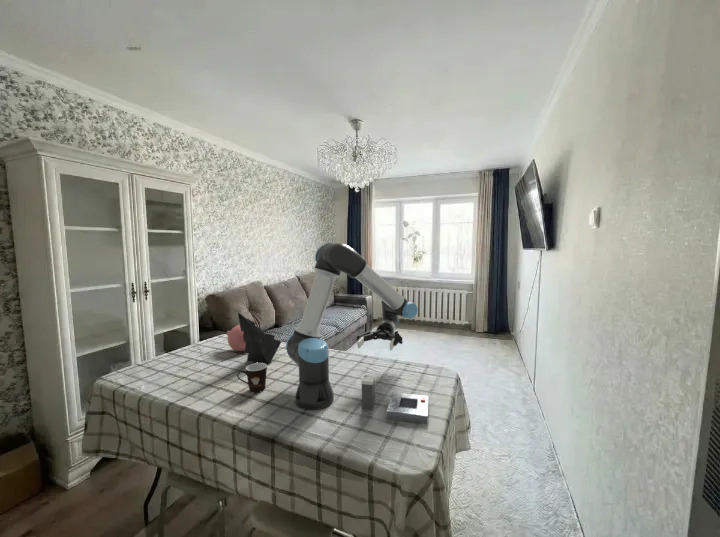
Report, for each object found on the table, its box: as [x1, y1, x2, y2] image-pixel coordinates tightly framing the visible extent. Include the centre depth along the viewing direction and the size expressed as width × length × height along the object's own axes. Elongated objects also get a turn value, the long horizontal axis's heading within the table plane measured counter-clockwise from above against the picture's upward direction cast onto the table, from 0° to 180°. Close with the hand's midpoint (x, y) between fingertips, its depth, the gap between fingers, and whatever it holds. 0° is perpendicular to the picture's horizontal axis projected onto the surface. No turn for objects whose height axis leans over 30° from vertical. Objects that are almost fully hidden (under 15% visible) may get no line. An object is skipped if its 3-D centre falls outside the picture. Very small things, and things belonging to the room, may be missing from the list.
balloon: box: [225, 324, 246, 352], centre depth 180 cm, size 15×20×15 cm
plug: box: [361, 374, 376, 411], centre depth 116 cm, size 4×5×11 cm
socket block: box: [386, 391, 429, 425], centre depth 112 cm, size 14×14×4 cm
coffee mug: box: [236, 362, 268, 393], centre depth 131 cm, size 12×9×10 cm
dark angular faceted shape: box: [237, 312, 283, 365], centre depth 157 cm, size 15×15×35 cm
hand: (374, 346), depth 124 cm, fingers open, 13 cm apart
